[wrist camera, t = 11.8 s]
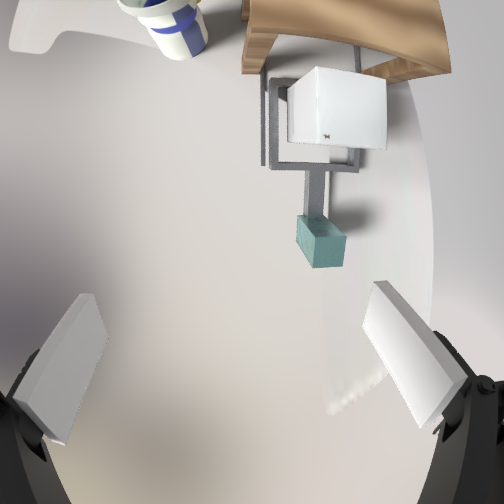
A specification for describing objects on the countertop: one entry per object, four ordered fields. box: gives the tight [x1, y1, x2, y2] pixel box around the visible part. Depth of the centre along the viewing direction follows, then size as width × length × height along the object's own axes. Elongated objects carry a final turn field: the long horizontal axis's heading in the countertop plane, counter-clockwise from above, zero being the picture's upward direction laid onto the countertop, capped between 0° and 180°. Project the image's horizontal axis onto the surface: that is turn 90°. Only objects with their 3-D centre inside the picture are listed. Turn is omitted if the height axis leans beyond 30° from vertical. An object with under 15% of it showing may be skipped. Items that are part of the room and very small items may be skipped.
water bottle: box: [117, 0, 208, 60], centre depth 20 cm, size 8×9×25 cm
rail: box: [260, 45, 360, 167], centre depth 35 cm, size 28×16×1 cm, turn 1°
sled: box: [269, 78, 360, 268], centre depth 36 cm, size 26×14×10 cm, turn 1°
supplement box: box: [287, 66, 387, 150], centre depth 31 cm, size 9×9×15 cm
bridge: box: [241, 0, 451, 85], centre depth 24 cm, size 12×22×20 cm, turn 91°
